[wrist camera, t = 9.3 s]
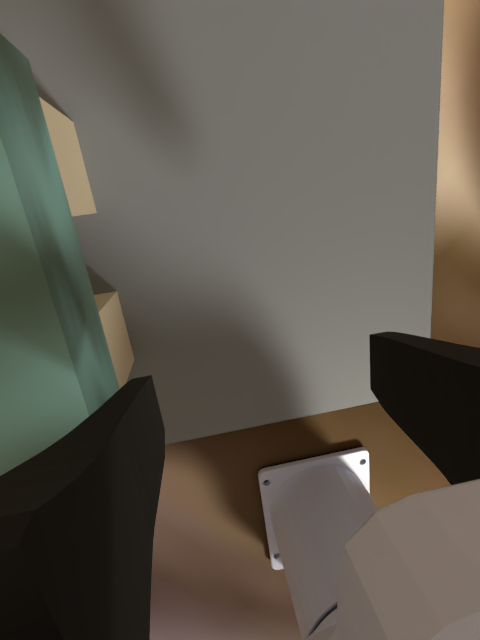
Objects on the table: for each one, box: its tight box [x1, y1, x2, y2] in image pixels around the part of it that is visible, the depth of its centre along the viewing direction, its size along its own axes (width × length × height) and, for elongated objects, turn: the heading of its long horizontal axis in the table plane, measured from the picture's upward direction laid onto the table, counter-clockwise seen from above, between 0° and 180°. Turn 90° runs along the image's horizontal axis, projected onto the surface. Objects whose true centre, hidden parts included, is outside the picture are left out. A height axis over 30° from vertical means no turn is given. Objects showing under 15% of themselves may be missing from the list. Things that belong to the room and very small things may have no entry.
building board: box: [0, 0, 444, 445], centre depth 17 cm, size 24×26×5 cm
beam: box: [0, 33, 120, 476], centre depth 12 cm, size 14×4×4 cm, turn 7°
